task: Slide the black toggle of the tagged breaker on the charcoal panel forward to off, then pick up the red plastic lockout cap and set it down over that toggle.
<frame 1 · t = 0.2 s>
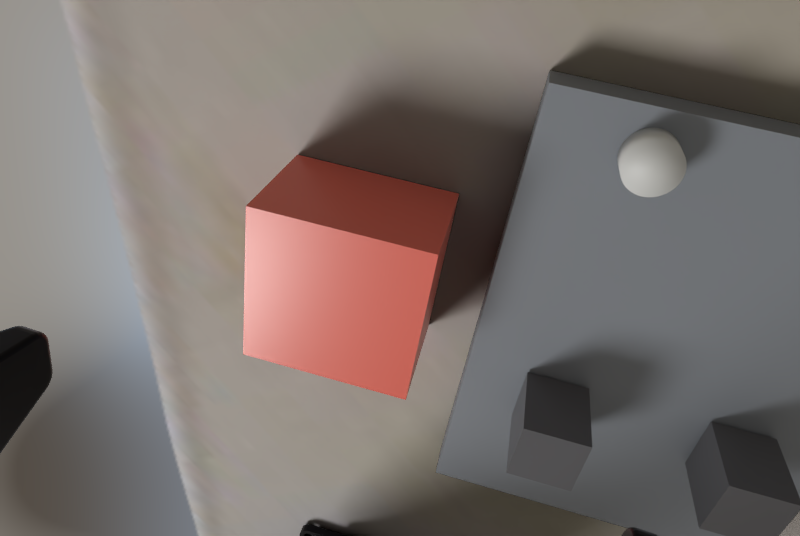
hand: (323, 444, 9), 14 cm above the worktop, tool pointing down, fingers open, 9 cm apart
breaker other: (548, 429, 23), point 3 cm above the worktop, slide at 0.0 cm
lockout cap: (366, 244, 24), on the worktop
breaker tagged: (738, 482, 22), point 3 cm above the worktop, slide at 0.0 cm
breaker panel: (662, 343, 24), on the worktop
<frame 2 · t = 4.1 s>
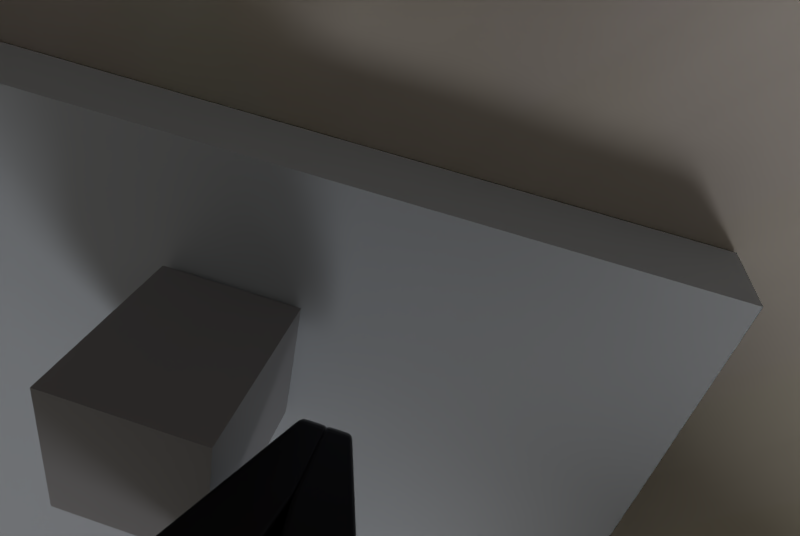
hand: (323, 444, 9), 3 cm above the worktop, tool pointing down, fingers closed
breaker tagged: (182, 401, 9), point 3 cm above the worktop, slide at 1.4 cm, touching gripper
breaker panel: (187, 394, 14), on the worktop
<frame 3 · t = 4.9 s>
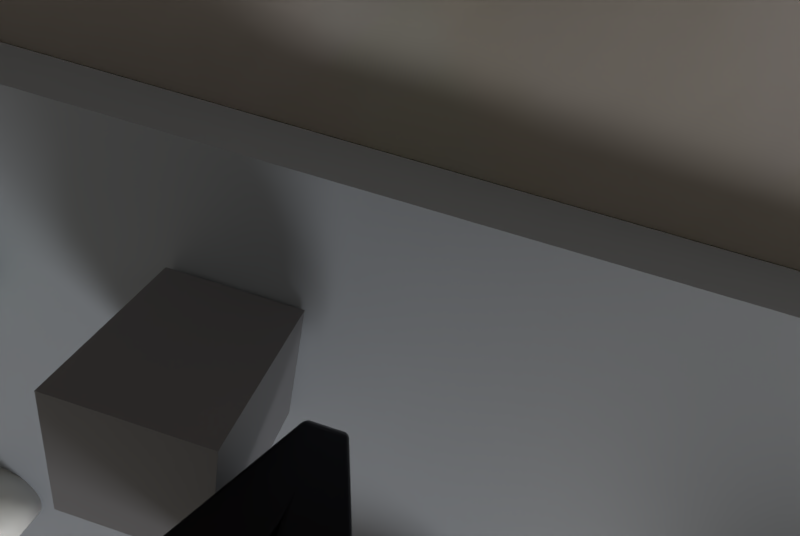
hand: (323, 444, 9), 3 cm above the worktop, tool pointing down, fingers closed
breaker tagged: (186, 404, 9), point 3 cm above the worktop, slide at 5.1 cm, touching gripper
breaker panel: (341, 445, 14), on the worktop
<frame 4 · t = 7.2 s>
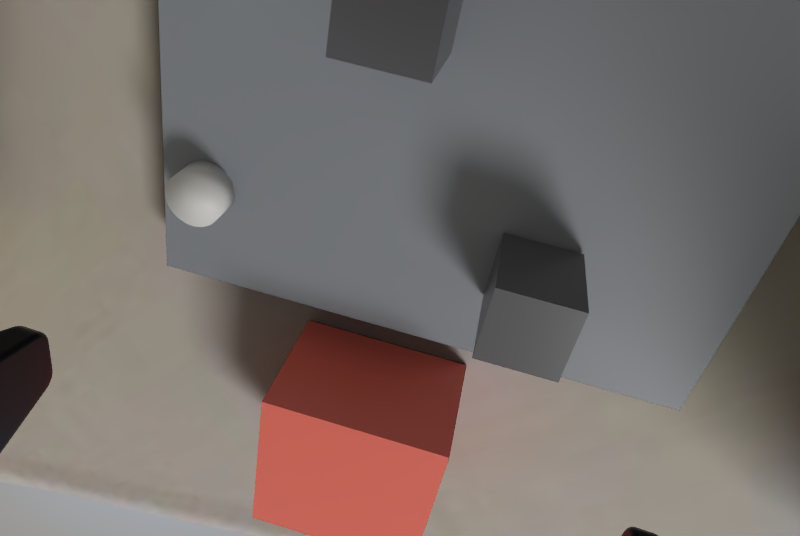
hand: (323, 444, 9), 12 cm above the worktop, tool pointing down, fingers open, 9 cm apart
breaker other: (529, 304, 17), point 3 cm above the worktop, slide at 0.0 cm
lockout cap: (373, 400, 25), on the worktop
breaker tagged: (402, 1, 14), point 3 cm above the worktop, slide at 5.1 cm
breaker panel: (469, 126, 18), on the worktop
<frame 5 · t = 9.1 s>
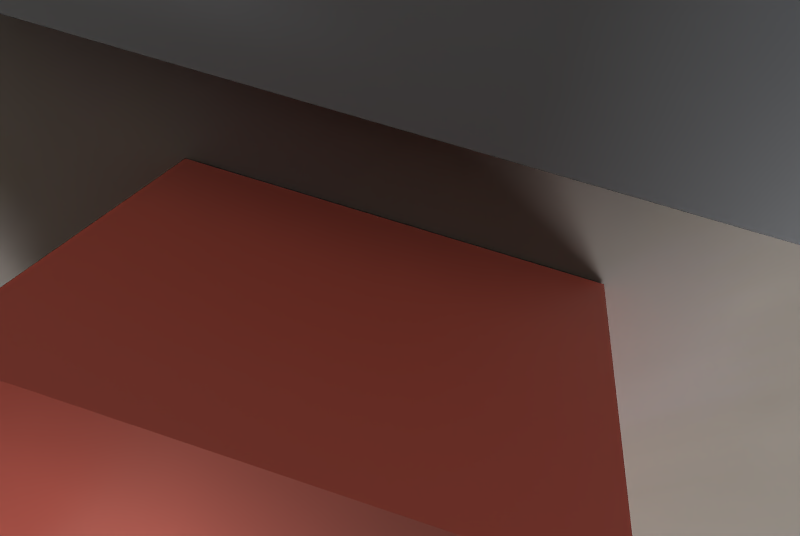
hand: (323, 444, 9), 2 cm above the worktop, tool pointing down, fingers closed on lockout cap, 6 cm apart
lockout cap: (352, 376, 10), on the worktop, touching gripper
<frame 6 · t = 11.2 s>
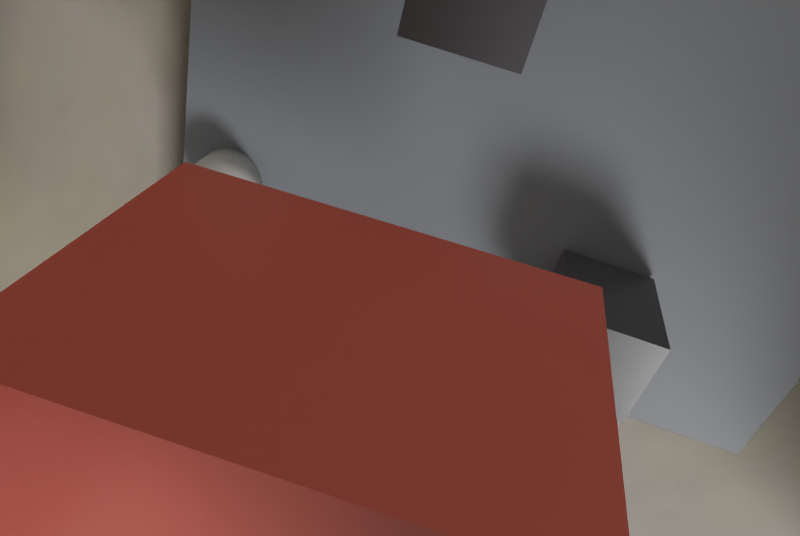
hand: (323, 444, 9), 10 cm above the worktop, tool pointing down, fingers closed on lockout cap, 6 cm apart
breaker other: (592, 332, 15), point 3 cm above the worktop, slide at 0.0 cm
lockout cap: (352, 378, 10), point 9 cm above the worktop, touching gripper
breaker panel: (532, 127, 16), on the worktop
when the fingers open (4 cm above the worktop, at t = 13.4 s): lockout cap drops 1 cm, resting on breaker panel.
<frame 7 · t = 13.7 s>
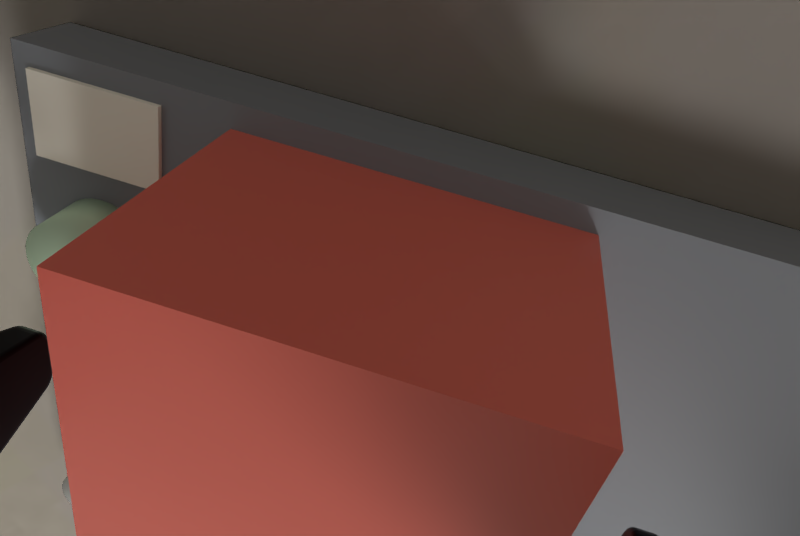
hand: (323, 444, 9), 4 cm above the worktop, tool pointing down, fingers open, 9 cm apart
lockout cap: (375, 327, 12), point 1 cm above the worktop, touching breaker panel
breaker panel: (442, 424, 15), on the worktop
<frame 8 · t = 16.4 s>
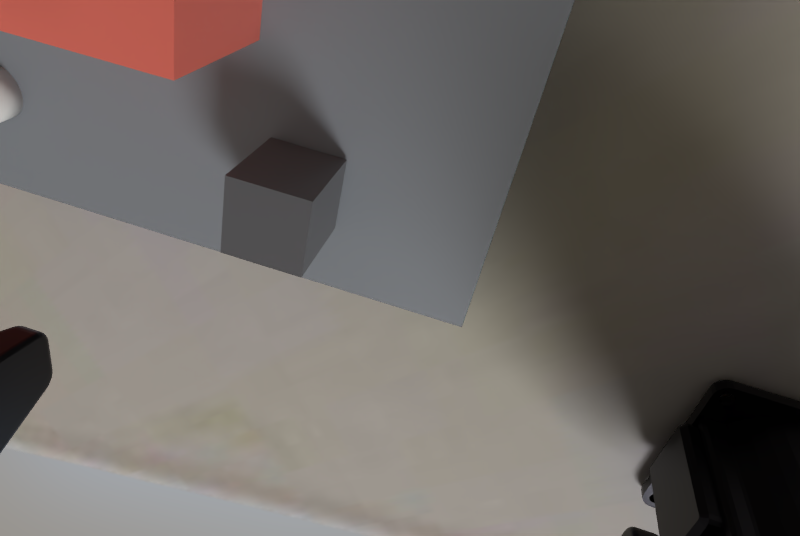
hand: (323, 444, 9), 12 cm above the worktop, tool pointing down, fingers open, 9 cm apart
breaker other: (285, 204, 18), point 3 cm above the worktop, slide at 0.0 cm
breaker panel: (242, 32, 19), on the worktop
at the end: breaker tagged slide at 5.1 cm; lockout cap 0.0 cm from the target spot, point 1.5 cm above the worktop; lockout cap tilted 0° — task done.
